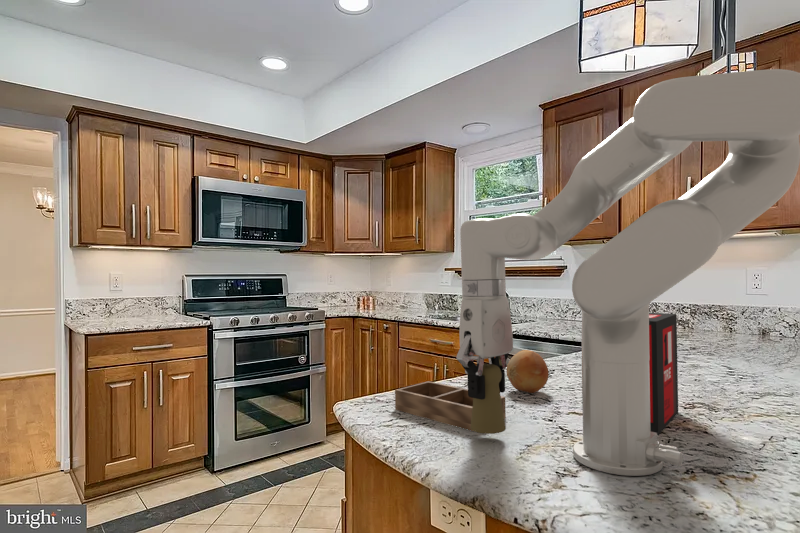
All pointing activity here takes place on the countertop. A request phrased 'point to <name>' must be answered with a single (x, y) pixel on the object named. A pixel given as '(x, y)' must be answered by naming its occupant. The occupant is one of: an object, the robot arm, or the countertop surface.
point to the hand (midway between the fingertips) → (486, 393)
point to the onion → (527, 371)
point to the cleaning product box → (663, 370)
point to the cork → (489, 404)
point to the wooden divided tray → (438, 403)
